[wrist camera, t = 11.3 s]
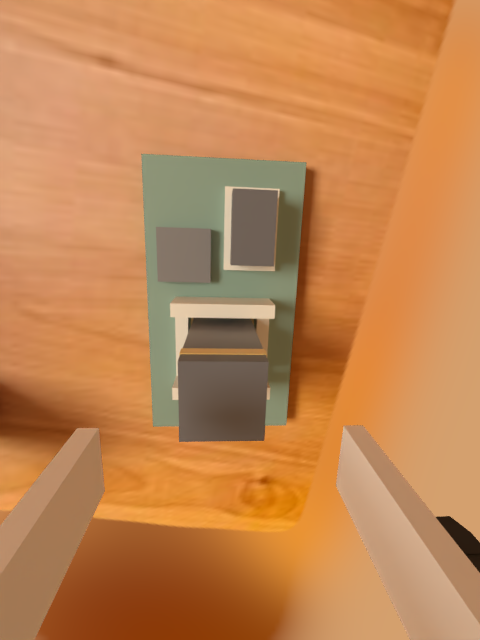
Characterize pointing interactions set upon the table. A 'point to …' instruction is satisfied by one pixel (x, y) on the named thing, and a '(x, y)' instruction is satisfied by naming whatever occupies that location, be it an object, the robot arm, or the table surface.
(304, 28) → the table surface
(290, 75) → the table surface
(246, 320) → the plug
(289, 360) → the board
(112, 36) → the table surface
